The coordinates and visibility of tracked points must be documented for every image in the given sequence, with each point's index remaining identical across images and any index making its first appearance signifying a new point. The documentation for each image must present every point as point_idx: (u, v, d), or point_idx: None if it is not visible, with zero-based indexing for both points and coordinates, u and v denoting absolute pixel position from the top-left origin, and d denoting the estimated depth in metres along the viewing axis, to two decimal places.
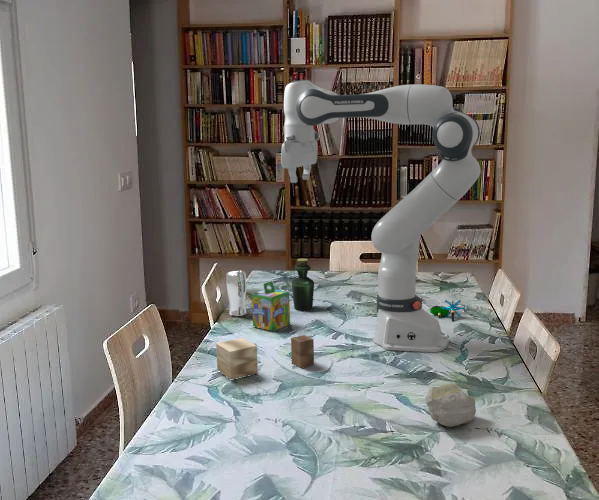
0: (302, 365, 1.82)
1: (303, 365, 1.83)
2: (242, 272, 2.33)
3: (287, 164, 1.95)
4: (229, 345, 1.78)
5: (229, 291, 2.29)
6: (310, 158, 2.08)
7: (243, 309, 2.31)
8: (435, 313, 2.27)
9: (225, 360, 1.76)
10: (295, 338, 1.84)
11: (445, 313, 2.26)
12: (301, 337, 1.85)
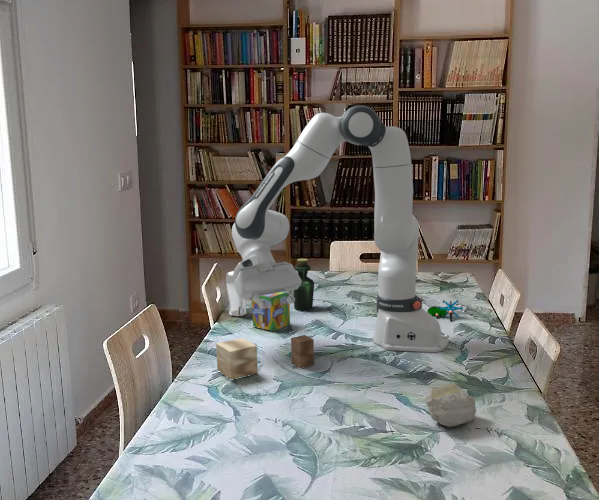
0: (302, 365, 1.82)
1: (303, 365, 1.83)
2: None
3: None
4: (229, 345, 1.78)
5: (229, 291, 2.29)
6: None
7: (243, 309, 2.31)
8: (432, 313, 2.27)
9: (225, 360, 1.76)
10: (295, 338, 1.84)
11: (442, 313, 2.26)
12: (301, 337, 1.85)
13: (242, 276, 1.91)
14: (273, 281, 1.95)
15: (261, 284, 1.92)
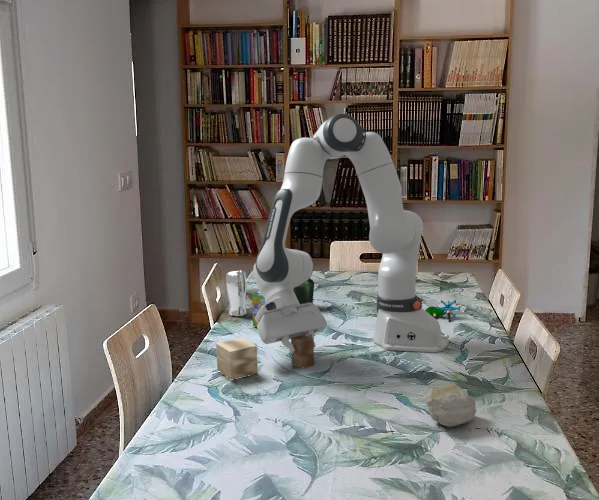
0: (302, 365, 1.82)
1: (303, 365, 1.83)
2: (242, 272, 2.33)
3: None
4: (229, 345, 1.78)
5: (229, 291, 2.29)
6: None
7: (243, 309, 2.31)
8: (430, 314, 2.27)
9: (225, 360, 1.76)
10: (295, 338, 1.84)
11: (440, 314, 2.25)
12: (301, 337, 1.85)
13: (265, 320, 1.82)
14: (298, 324, 1.86)
15: (285, 328, 1.84)
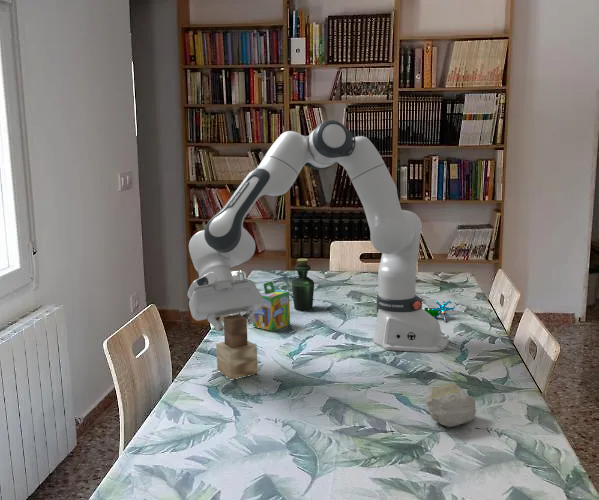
0: (234, 345, 1.76)
1: (235, 345, 1.76)
2: (242, 272, 2.33)
3: None
4: None
5: None
6: None
7: None
8: None
9: (225, 360, 1.76)
10: (228, 317, 1.77)
11: (434, 314, 2.25)
12: (234, 316, 1.78)
13: (196, 295, 1.75)
14: (231, 301, 1.79)
15: (217, 304, 1.77)
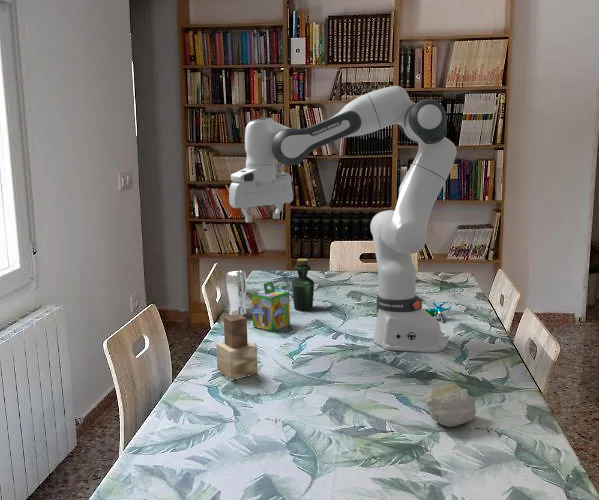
0: (234, 345, 1.76)
1: (235, 345, 1.76)
2: (242, 272, 2.33)
3: None
4: None
5: (229, 291, 2.29)
6: None
7: (243, 309, 2.31)
8: None
9: (225, 360, 1.76)
10: (228, 317, 1.77)
11: None
12: (234, 316, 1.78)
13: (239, 189, 1.91)
14: (266, 198, 1.97)
15: (254, 199, 1.95)
